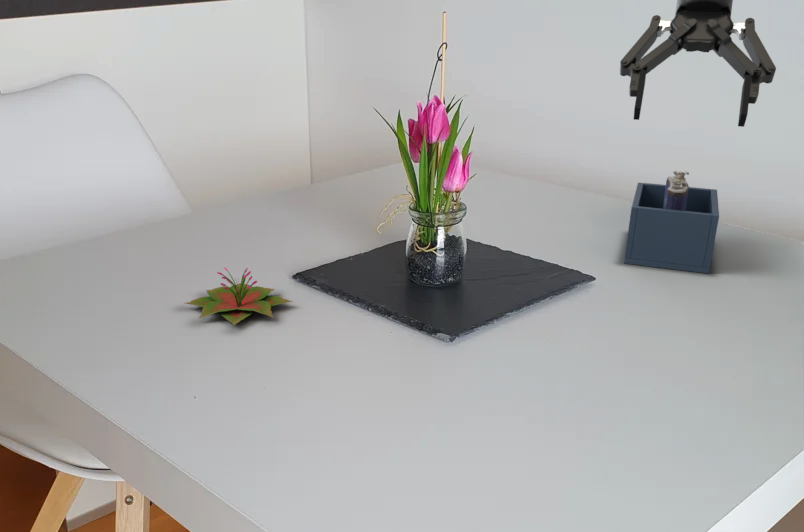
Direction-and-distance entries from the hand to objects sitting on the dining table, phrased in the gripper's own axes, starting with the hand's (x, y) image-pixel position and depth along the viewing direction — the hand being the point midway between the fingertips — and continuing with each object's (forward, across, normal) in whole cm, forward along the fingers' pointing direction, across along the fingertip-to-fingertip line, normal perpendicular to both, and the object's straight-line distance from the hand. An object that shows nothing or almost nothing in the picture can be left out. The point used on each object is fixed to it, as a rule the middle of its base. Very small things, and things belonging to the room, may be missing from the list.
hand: (688, 117), depth 115 cm
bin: (+17, 0, +8) cm, 19 cm away
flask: (+16, 0, +8) cm, 18 cm away
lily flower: (+44, -46, -19) cm, 67 cm away
